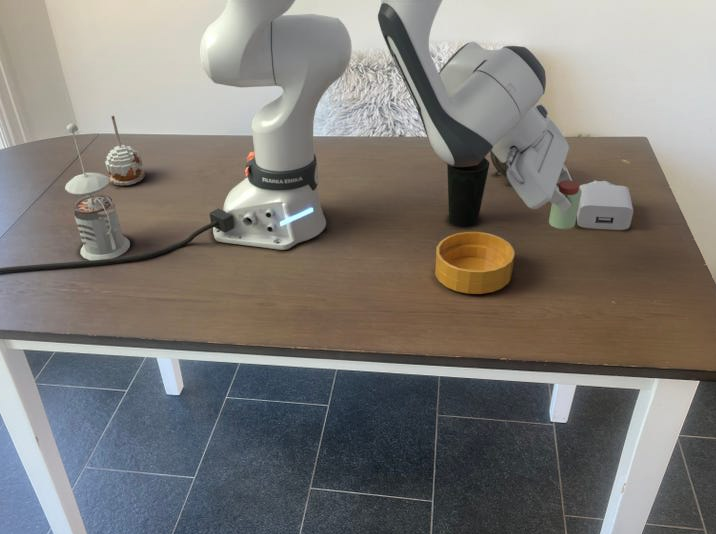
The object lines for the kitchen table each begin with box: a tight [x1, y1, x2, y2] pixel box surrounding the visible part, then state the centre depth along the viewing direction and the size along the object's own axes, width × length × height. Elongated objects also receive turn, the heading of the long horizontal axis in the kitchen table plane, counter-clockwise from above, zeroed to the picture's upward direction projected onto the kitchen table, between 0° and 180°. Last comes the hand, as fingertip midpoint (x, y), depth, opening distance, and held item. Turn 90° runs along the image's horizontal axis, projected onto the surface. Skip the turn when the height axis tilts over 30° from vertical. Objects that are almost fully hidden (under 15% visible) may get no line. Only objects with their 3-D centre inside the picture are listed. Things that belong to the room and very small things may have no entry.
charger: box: [576, 179, 634, 231], centre depth 138 cm, size 5×9×15 cm
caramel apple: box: [104, 114, 146, 186], centre depth 159 cm, size 8×8×15 cm
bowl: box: [434, 231, 516, 295], centre depth 124 cm, size 13×13×5 cm
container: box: [548, 180, 582, 230], centre depth 117 cm, size 4×4×7 cm
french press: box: [64, 123, 131, 261], centre depth 132 cm, size 10×12×25 cm
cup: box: [446, 157, 490, 228], centre depth 136 cm, size 8×8×12 cm
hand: (570, 199), depth 117 cm, fingers closed on container, 4 cm apart
